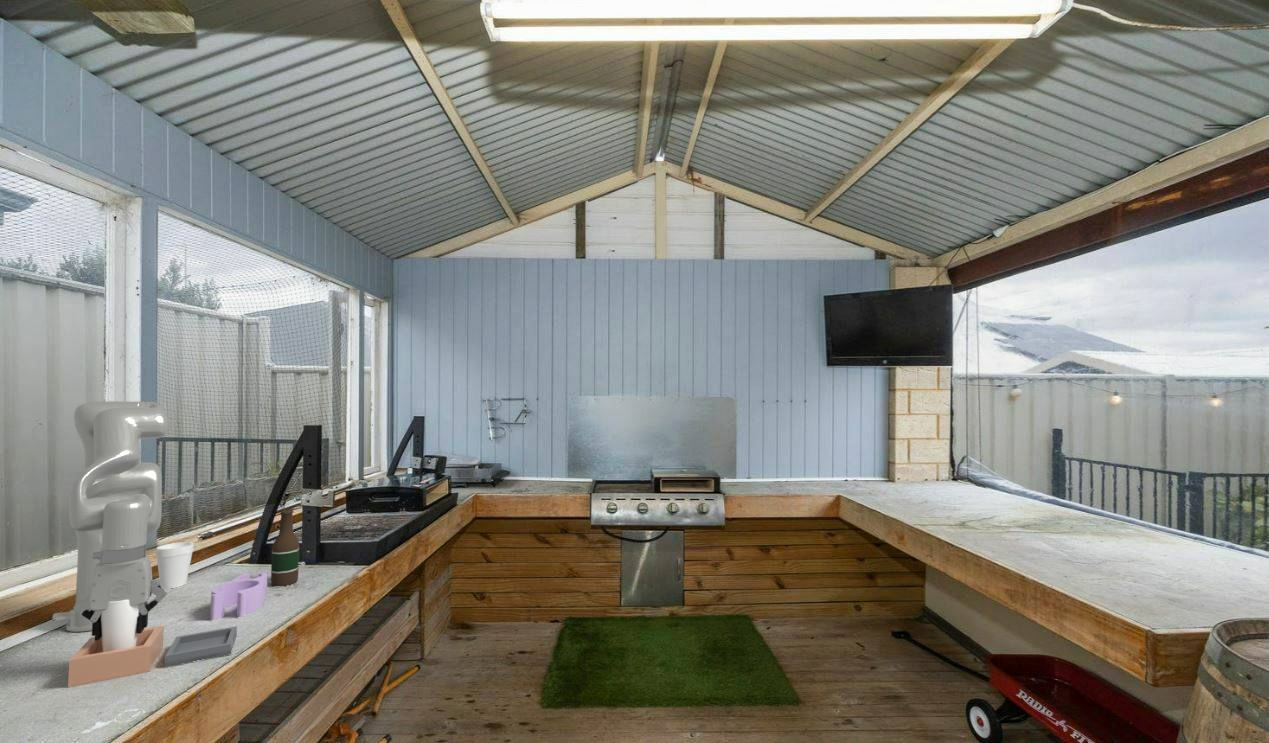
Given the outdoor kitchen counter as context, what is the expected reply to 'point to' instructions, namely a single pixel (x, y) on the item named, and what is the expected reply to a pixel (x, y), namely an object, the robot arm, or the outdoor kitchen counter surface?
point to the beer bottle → (285, 553)
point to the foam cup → (174, 563)
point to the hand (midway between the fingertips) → (120, 633)
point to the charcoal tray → (201, 646)
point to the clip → (239, 595)
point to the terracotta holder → (115, 659)
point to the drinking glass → (119, 625)
